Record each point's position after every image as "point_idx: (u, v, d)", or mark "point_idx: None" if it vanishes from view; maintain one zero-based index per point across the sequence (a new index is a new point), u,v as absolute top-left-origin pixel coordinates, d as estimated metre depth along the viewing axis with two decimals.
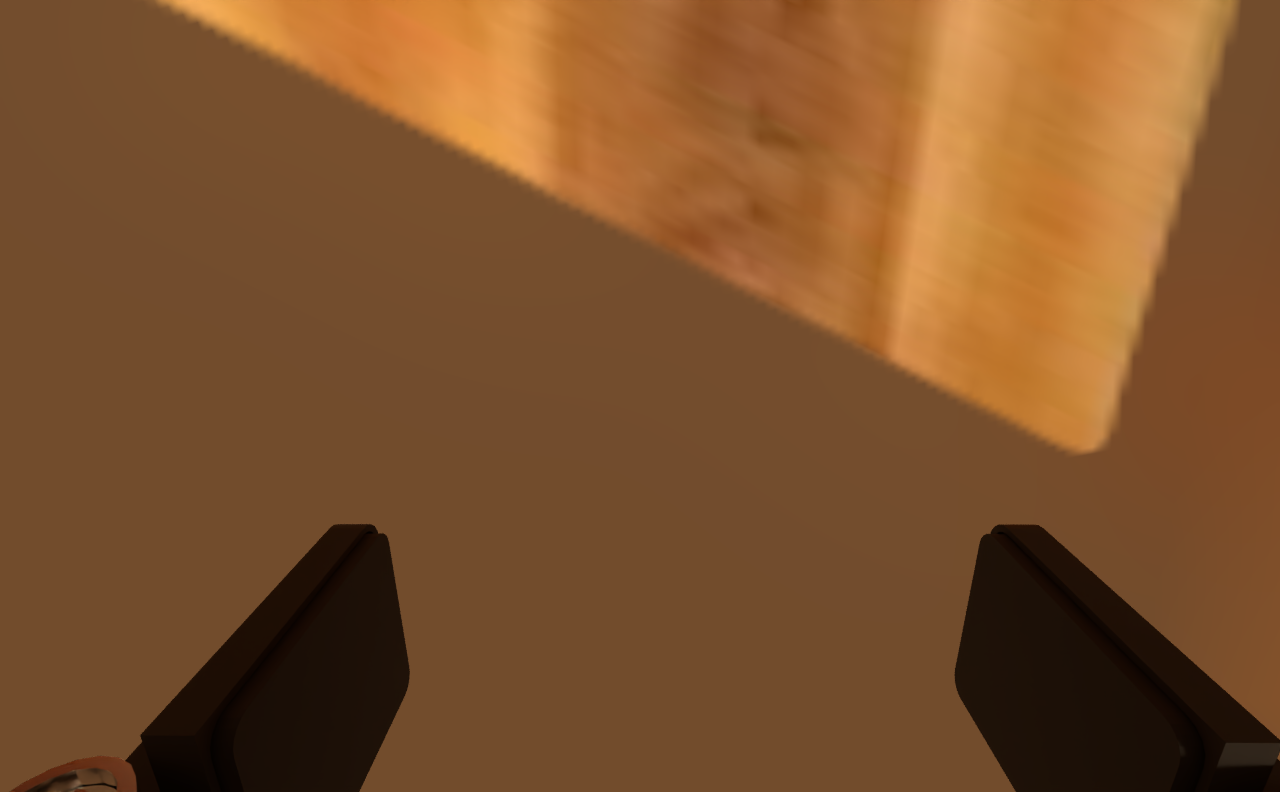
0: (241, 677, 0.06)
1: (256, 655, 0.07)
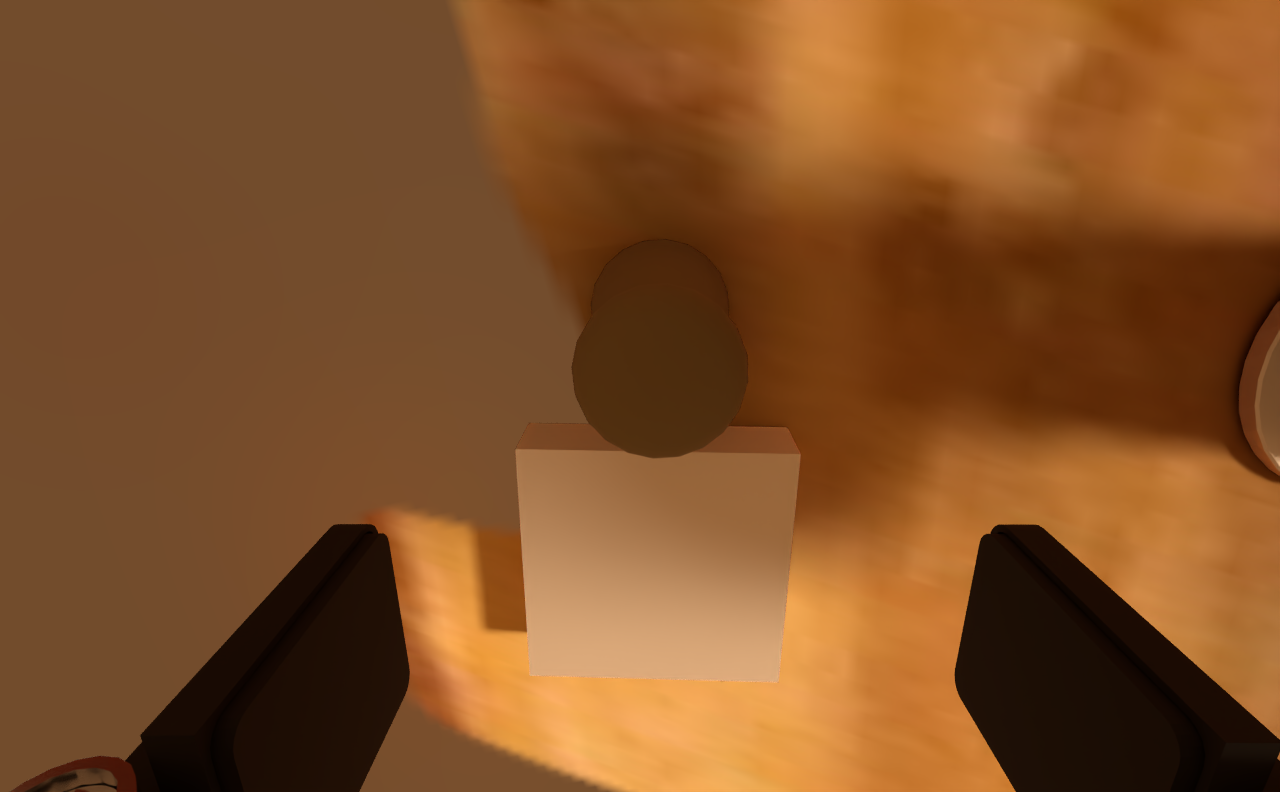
0: (242, 677, 0.06)
1: (257, 655, 0.07)
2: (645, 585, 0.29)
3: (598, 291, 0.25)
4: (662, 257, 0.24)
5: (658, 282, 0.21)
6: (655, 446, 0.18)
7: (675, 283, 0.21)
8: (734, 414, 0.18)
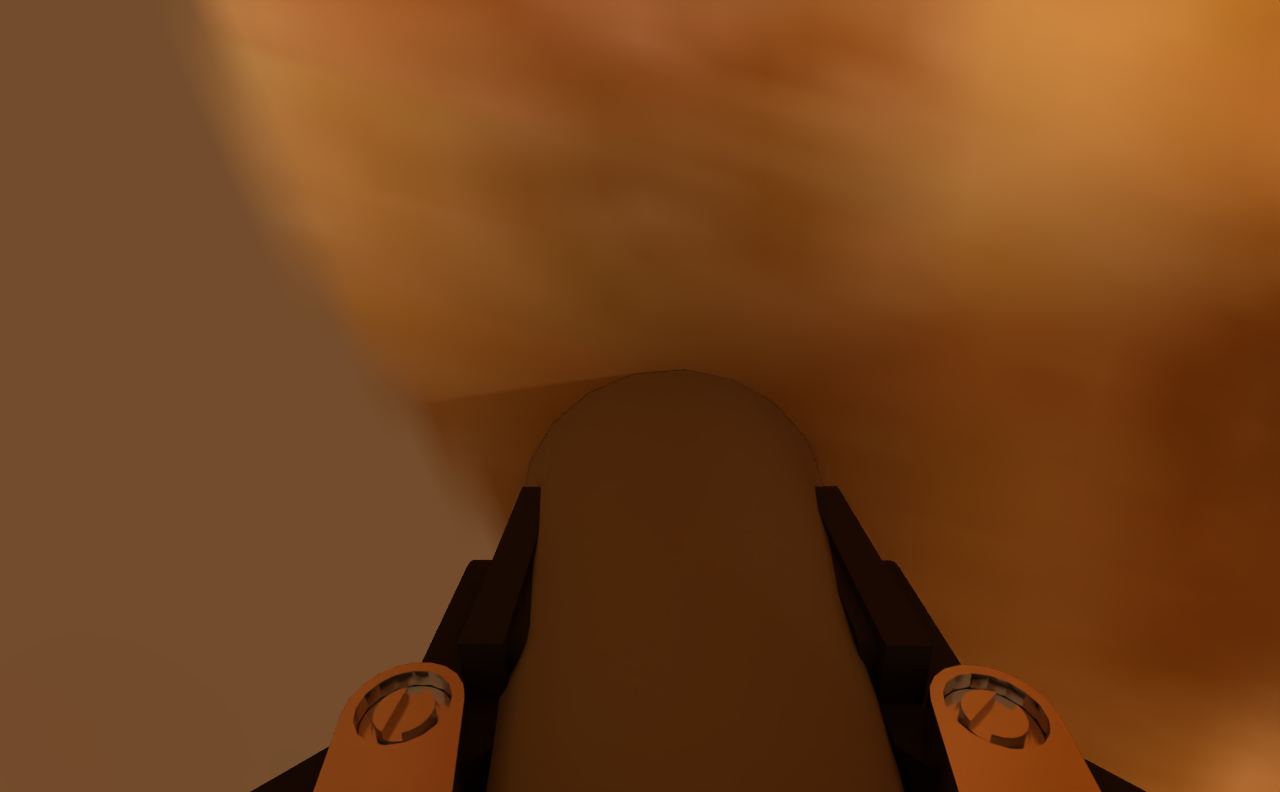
0: (516, 601, 0.08)
1: (517, 586, 0.08)
2: None
3: None
4: (684, 458, 0.09)
5: (686, 642, 0.06)
6: None
7: (744, 641, 0.06)
8: None
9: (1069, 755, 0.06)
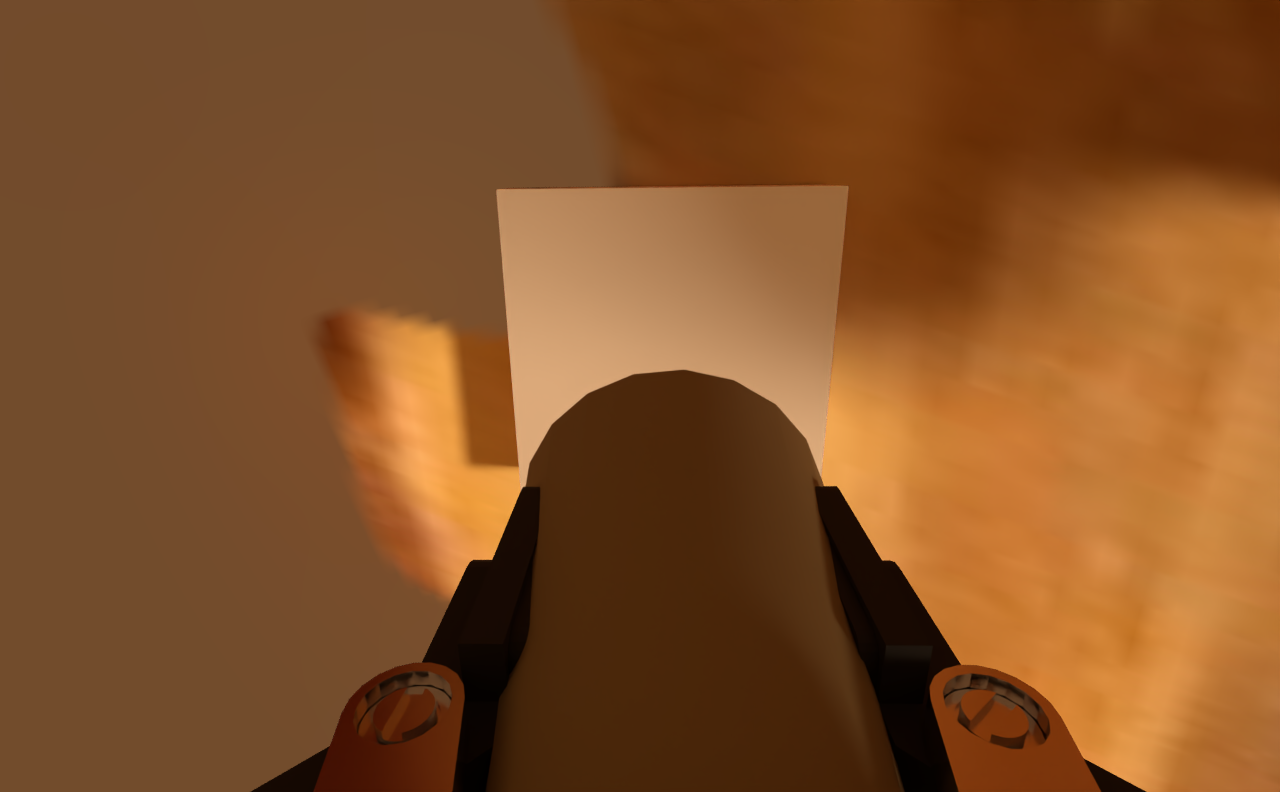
0: (516, 602, 0.08)
1: (517, 587, 0.08)
2: None
3: None
4: (684, 458, 0.09)
5: (686, 642, 0.06)
6: None
7: (745, 641, 0.06)
8: None
9: (1069, 755, 0.06)
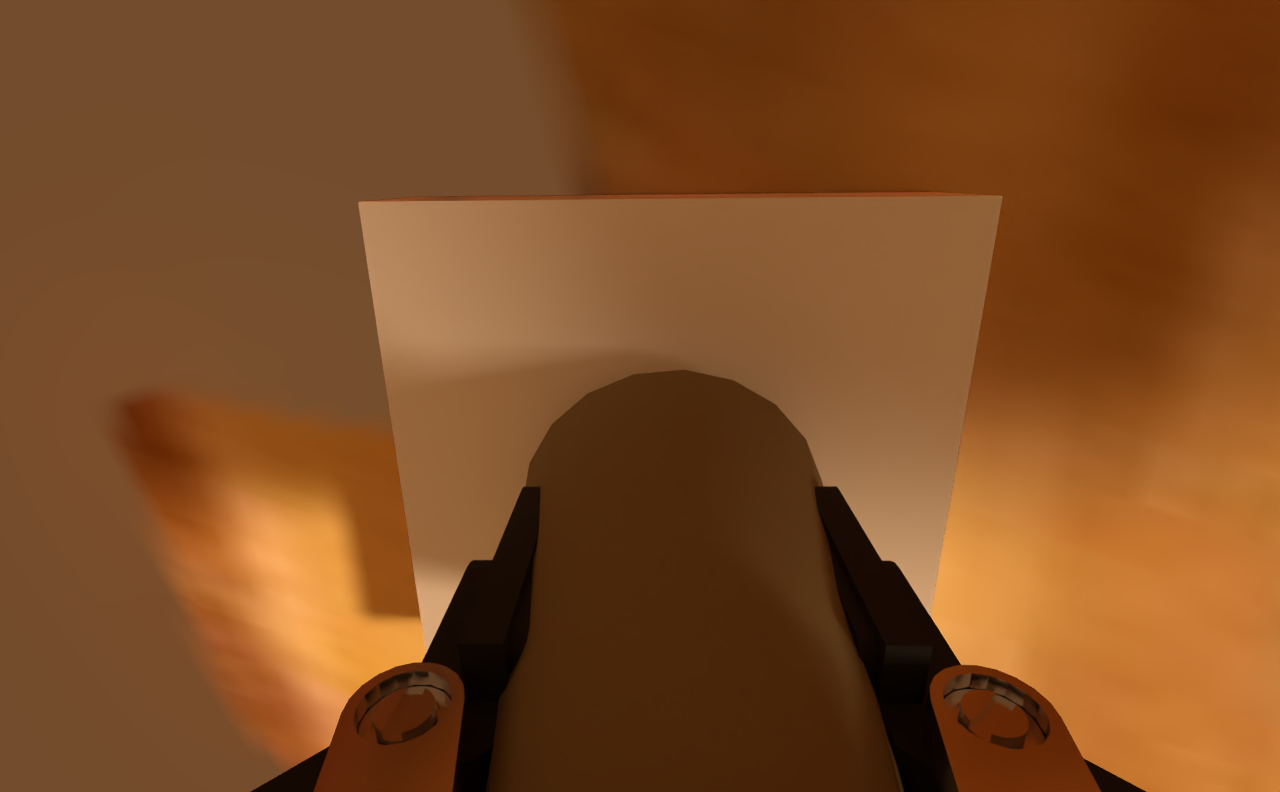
0: (516, 602, 0.08)
1: (517, 587, 0.08)
2: None
3: None
4: (684, 458, 0.09)
5: (686, 642, 0.06)
6: None
7: (744, 641, 0.06)
8: None
9: (1068, 755, 0.06)
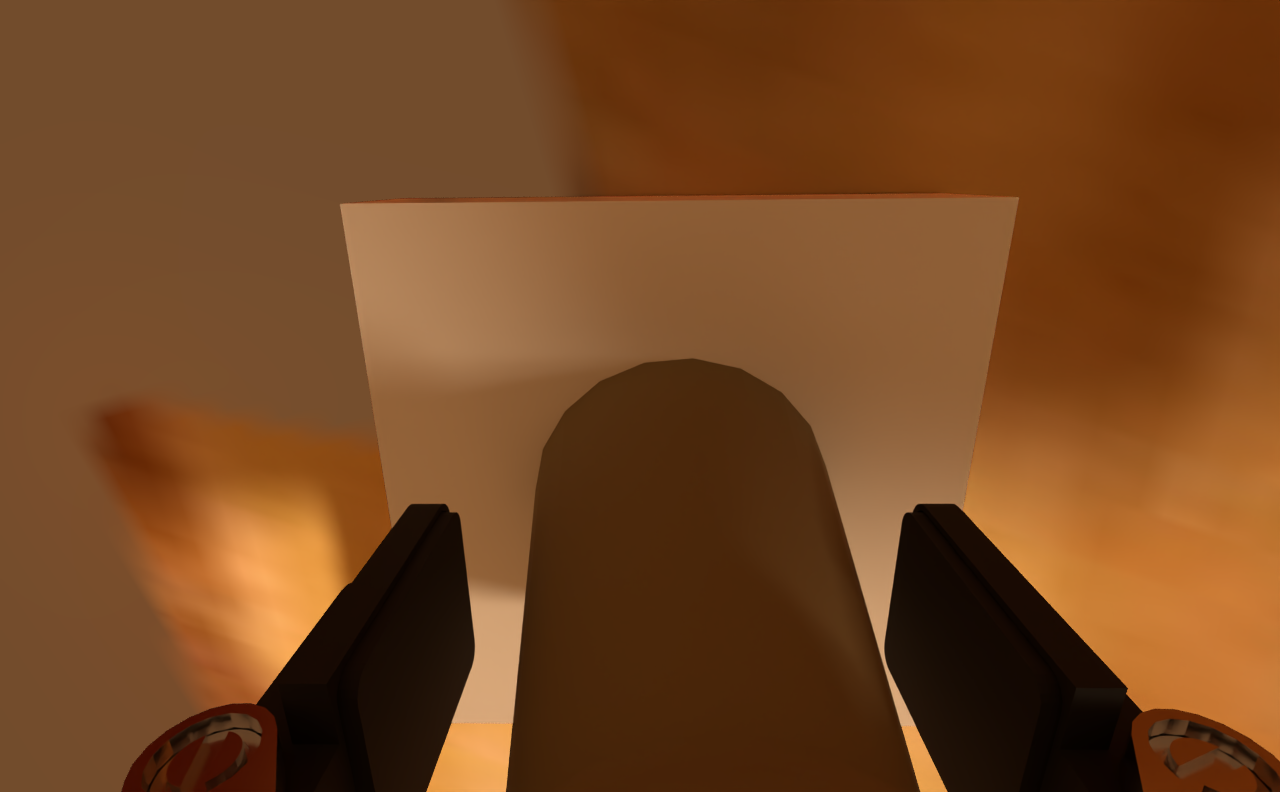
0: (358, 634, 0.07)
1: (366, 617, 0.07)
2: None
3: (541, 498, 0.11)
4: (696, 439, 0.09)
5: (703, 604, 0.06)
6: None
7: (757, 602, 0.06)
8: None
9: None
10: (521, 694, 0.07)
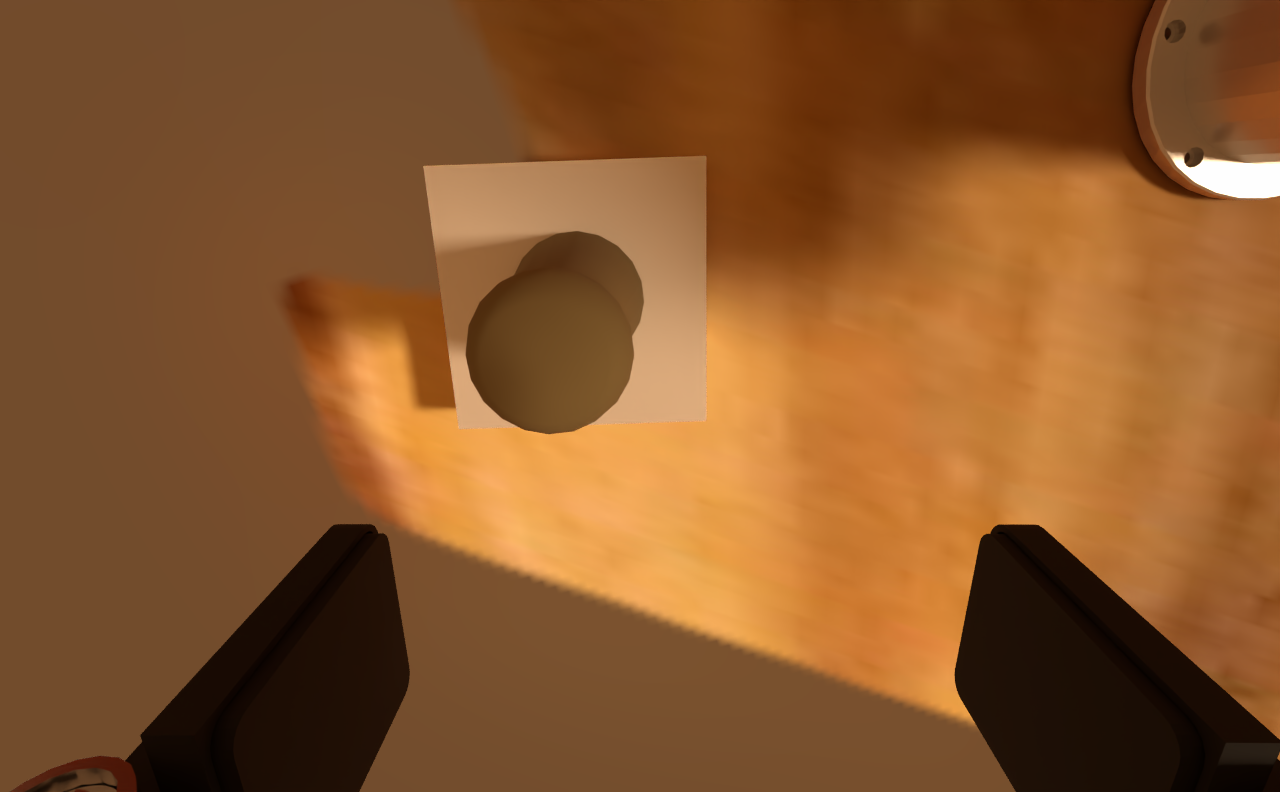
0: (243, 676, 0.06)
1: (256, 655, 0.07)
2: None
3: None
4: (568, 247, 0.25)
5: None
6: (546, 421, 0.19)
7: (571, 269, 0.22)
8: (620, 387, 0.19)
9: None
10: None
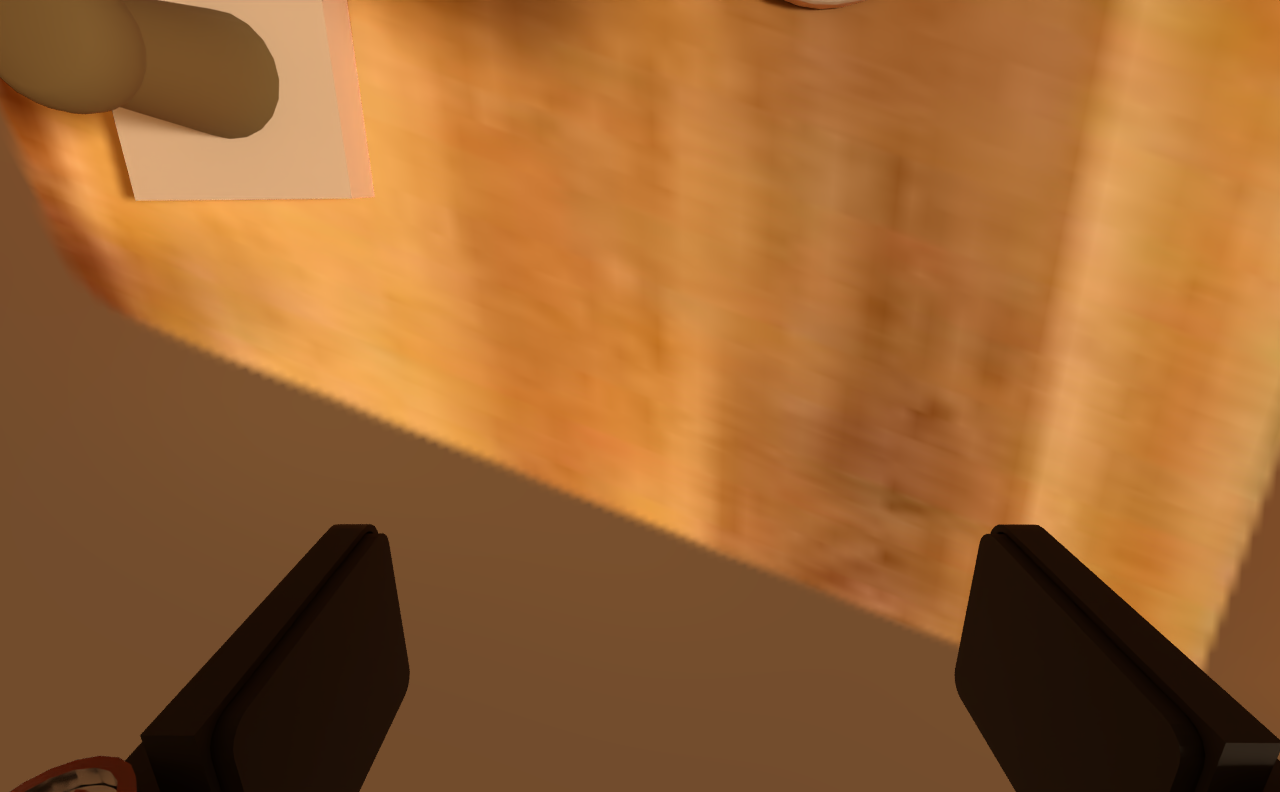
0: (241, 677, 0.06)
1: (256, 655, 0.07)
2: None
3: None
4: (166, 2, 0.29)
5: None
6: (36, 83, 0.23)
7: None
8: (104, 61, 0.23)
9: None
10: None
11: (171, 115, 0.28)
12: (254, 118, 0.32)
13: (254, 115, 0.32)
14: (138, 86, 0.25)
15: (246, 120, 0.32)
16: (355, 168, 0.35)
